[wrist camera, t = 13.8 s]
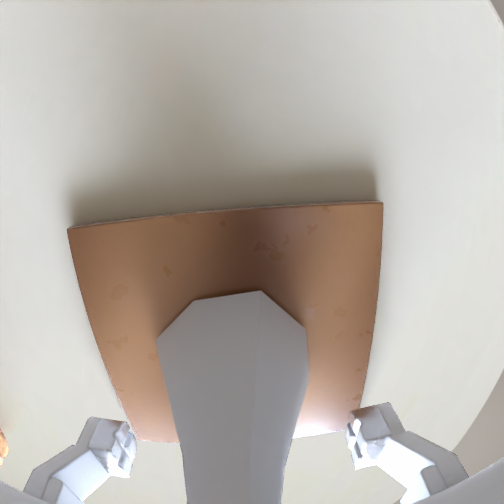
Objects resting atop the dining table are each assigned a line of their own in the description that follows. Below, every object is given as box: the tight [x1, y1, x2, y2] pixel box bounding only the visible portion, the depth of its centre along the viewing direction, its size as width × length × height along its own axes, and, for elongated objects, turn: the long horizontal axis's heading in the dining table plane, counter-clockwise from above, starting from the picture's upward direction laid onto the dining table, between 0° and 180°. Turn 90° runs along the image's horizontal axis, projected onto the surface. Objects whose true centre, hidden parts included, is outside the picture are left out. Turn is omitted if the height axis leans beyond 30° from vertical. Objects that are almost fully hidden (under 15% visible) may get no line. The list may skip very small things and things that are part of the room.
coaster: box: [67, 201, 383, 443], centre depth 14 cm, size 14×14×1 cm
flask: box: [156, 290, 310, 504], centre depth 9 cm, size 7×7×10 cm
